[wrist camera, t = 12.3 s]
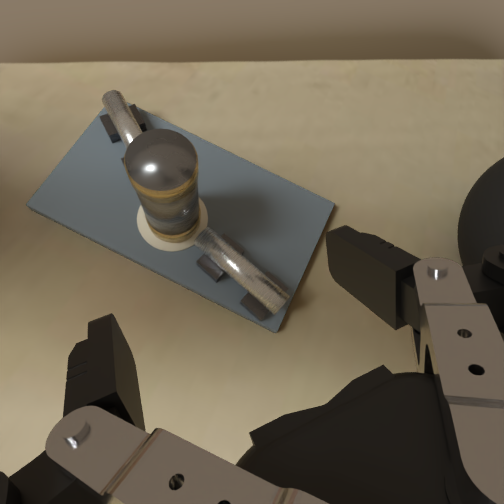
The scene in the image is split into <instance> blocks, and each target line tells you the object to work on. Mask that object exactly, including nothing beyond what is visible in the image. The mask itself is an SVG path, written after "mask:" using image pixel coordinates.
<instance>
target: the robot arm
mask: <svg viewBox="0 0 504 504" xmlns="http://www.w3.org/2000/svg"><path fill="white" fill-rule="evenodd" d="M326 246H327V256H328V265H329V270H330V273H331V275H332V277H333V279H334V280H335V281H336V282H337V283H338V284H339V285H340V286H342V287H343V288H344V289H345V290H347V291H348V292H349V293H350V294H352V295H353V296H354V297H355V298H356V299H358V300H359V301H360V302H361V303H363V304H364V305H365V306H366V307H368V308H369V309H370V310H371V311H373V312H374V313H375V314H376V315H377V316H379V317H380V318H381V319H382V320H384V321H385V322H386V323H387V324H389V325H390V326H391V327H392V328H394V329H395V330H397V329H399V328H401V327H403V326H405V325H407V324H409V325H410V326H412V330H411V335H412V342H413V348H414V355H415V362H416V368H417V372H405V373H396V374H392V373H391V372H390V371H389V370H388V369H387V368H386V367H385V366H384V365H382V366H380V367H378V368H376V369H374V370H372V371H370V372H368V373H366V374H364V375H362V376H360V377H358V378H356V379H354V380H352V381H351V382H350V383H349V384H348V385H347V386H346V387H345V388H344V389H342V390H341V391H340V392H339V393H338V394H337V395H336V396H335V397H334V398H332V399H331V400H330V401H329V402H328V403H327V404H325V405H322V406H318V407H314V408H310V409H306V410H302V411H298V412H293V413H289V414H285V415H283V416H281V417H279V418H277V419H275V420H273V421H271V422H269V423H267V424H265V425H263V426H261V427H259V428H257V429H255V430H253V431H251V432H249V434H250V437H251V440H252V443H253V446H252V447H251V448H250V449H249V450H247V452H246V453H245V454H244V455H243V456H242V457H241V458H240V459H239V461H238V462H237V464H236V465H234V464H232V463H230V462H228V461H226V460H224V459H222V458H220V457H218V456H216V455H214V454H212V453H210V452H208V451H206V450H204V449H202V448H200V447H198V446H196V445H194V444H192V443H190V442H188V441H186V440H184V439H182V438H180V437H178V436H176V435H174V434H172V433H170V432H168V431H166V430H164V429H161V428H156V429H155V430H154V431H153V432H152V433H151V434H149V433H147V432H146V431H145V425H144V418H143V411H142V405H141V398H140V391H139V385H138V378H137V371H136V365H135V361H134V358H133V355H132V352H131V350H130V347H129V345H128V343H127V341H126V339H125V337H124V335H123V333H122V331H121V329H120V327H119V325H118V323H117V321H116V319H115V317H114V315H113V314H112V313H111V314H109V315H106V316H103V317H101V318H98V319H95V320H93V321H90V322H88V339H86V340H84V341H81V342H79V343H76V345H75V347H74V348H73V350H72V352H71V353H70V355H69V357H68V368H67V369H68V371H67V382H66V389H65V400H64V411H63V418H62V419H61V420H60V421H59V422H58V423H57V424H56V425H55V427H54V428H53V429H52V431H51V432H50V434H49V436H48V438H47V441H46V446H45V449H46V450H45V451H43V452H42V453H41V454H40V455H39V456H38V457H36V458H35V459H34V460H32V461H31V462H30V463H28V464H27V465H25V466H24V467H23V468H21V469H20V470H19V471H17V472H16V473H14V474H13V475H12V476H10V477H9V478H8V477H7V476H6V475H5V474H4V473H3V472H0V504H504V245H497V246H492V247H490V248H487V249H486V250H485V251H484V253H483V260H482V263H478V264H473V265H467V266H462V267H461V266H460V265H459V264H458V263H456V262H454V261H452V260H449V259H445V258H426V259H422V260H421V259H419V258H417V257H415V256H413V255H412V254H410V253H408V252H406V251H404V250H402V249H400V248H398V247H394V245H393V244H391V243H389V242H386V241H385V240H383V239H381V238H380V237H378V236H376V235H372V234H367V233H360V232H358V231H356V230H354V229H352V228H351V227H349V226H346V225H345V226H342V227H339V228H337V229H334V230H331V231H329V232H327V233H326Z"/></svg>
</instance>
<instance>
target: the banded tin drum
mask: <svg viewBox="0 0 504 504" xmlns="http://www.w3.org/2000/svg"><path fill="white" fill-rule="evenodd" d="M124 166H125V170H126V173H127V175H128V178H129V180H130V182H131V185H132V187H133V188H134V190H135V191H136V193H137V196H138V198H139V201H140V203H141V206H142V208H143V211H144V213H145V218H146V221H147V224H148V226H149V228H150V230H151V232H152V233H153V234H154V235H155V236H156V237H157V238H158V239H160V240H162V241H165V242H169V243H179V242H183V241H186V240H188V239H189V238H191V237H192V236H193V235H194V234H195V233H196V232H197V230H198V229H199V226H200V223H201V209H200V204H199V193H198V176H199V169H198V155H197V152H196V149H195V147H194V146H193V144H192V143H191V142H190V141H189V140H188V139H187V138H186V137H185V136H183V135H182V134H180V133H178V132H176V131H173V130H169V129H153V130H149V131H146V132H143V133H142V134H140V135H138V136H137V137H136V138H134V139H133V140H132V142H131V143H130V144H129V146H128V147H127V150H126V152H125V155H124Z"/></svg>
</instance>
